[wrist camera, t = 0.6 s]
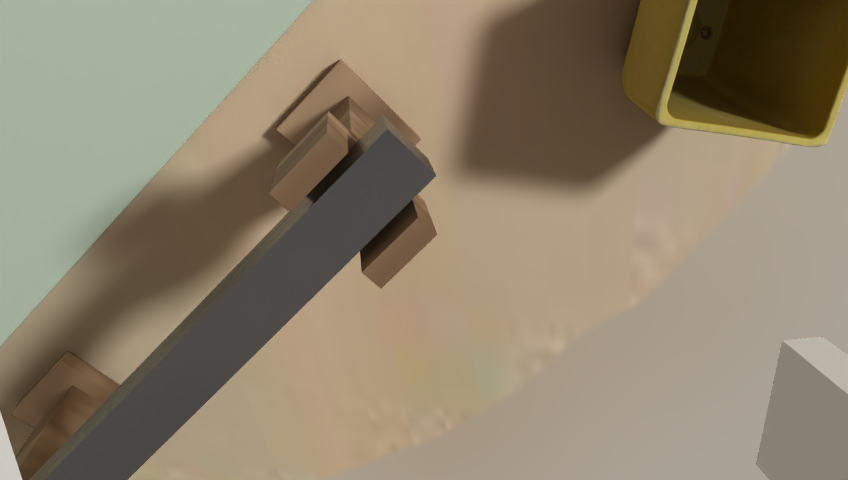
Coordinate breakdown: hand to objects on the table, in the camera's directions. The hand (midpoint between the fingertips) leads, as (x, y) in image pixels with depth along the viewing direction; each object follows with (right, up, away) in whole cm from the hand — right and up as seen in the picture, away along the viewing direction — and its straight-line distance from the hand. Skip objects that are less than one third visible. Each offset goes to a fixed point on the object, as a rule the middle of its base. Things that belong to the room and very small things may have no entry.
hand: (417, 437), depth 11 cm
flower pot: (+14, +15, +25) cm, 33 cm away
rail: (-11, -3, +17) cm, 21 cm away
